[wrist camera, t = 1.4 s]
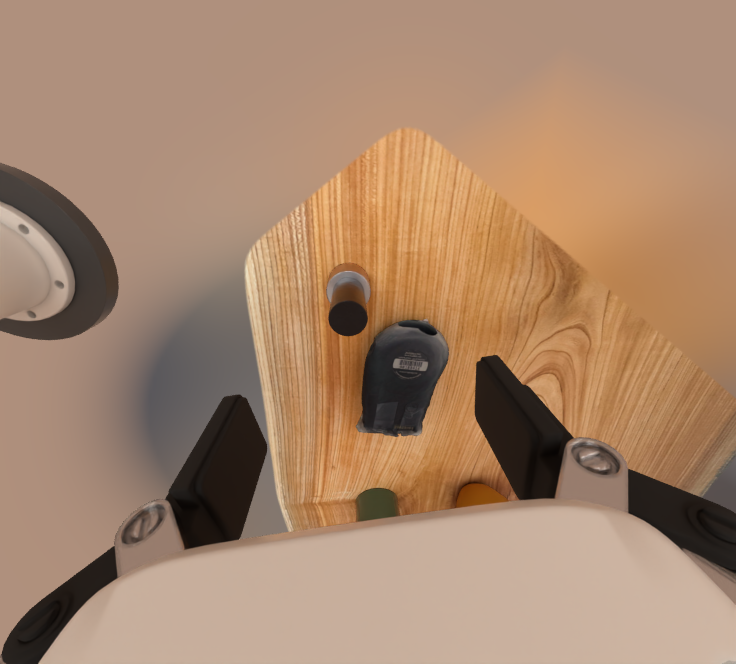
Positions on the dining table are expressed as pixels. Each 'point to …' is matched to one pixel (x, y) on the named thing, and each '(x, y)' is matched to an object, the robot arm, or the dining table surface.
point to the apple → (478, 496)
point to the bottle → (376, 505)
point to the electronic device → (401, 378)
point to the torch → (348, 299)
